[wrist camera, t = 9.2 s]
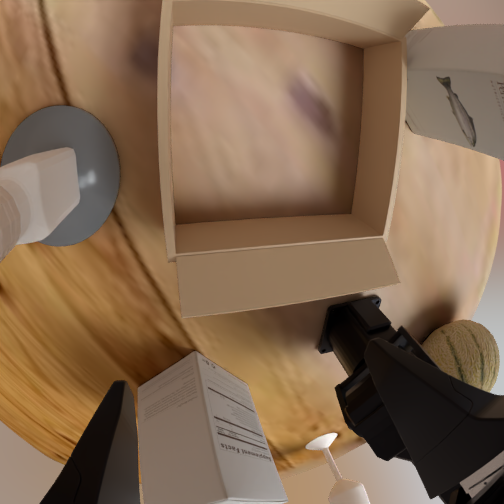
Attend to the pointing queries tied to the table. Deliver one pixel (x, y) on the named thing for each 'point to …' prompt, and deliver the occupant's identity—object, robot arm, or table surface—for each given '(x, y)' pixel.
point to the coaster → (87, 159)
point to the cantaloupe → (465, 353)
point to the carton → (297, 227)
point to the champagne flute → (339, 476)
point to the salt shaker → (36, 196)
